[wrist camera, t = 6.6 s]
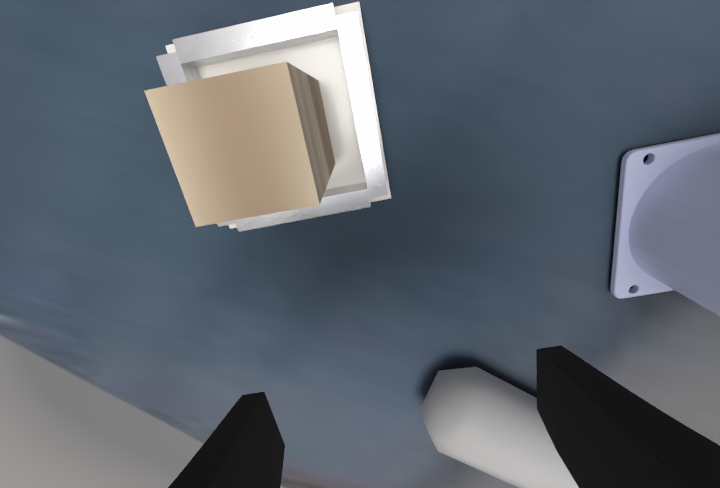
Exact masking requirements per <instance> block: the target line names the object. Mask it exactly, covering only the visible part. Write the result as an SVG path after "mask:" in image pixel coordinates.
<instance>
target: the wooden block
mask: <svg viewBox="0 0 720 488" xmlns="http://www.w3.org/2000/svg"><path fill="white" fill-rule="evenodd" d="M145 94H146V96H147V99H148V102H149V104H150V107H151V110H152V112H153V115H154V118H155V120H156V123H157V126H158V128H159V131H160V133H161V136H162V139H163V141H164V144H165V147H166V149H167V152H168V155H169V157H170V160H171V163H172V165H173V168H174V170H175V173H176V176H177V178H178V181H179V184H180V186H181V189H182V192H183V194H184V197H185V200H186V202H187V205H188V208H189V210H190V213H191V215H192V218H193V221H194V223H195V226H196V227H199V226H204V225H210V224H216V223H221V222H227V221H233V220H238V219H244V218H249V217H255V216H261V215H266V214H272V213H278V212H283V211H289V210H294V209H300V208H306V207H311V206H317V205H320V203H321V200H322V198H323V195H324V192H325V190H326V187H327V184H328V182H329V179H330V176H331V174H332V171H333V169H334V166H335V159H334V155H333V150H332V145H331V140H330V135H329V130H328V125H327V120H326V115H325V111H324V106H323V101H322V96H321V91H320V86H319V81H318V80H317V79H315V78H313V77H312V76H310V75H308V74H307V73H305V72H303V71H302V70H300V69H298V68H297V67H295V66H293V65H292V64H290V63H288V62H282V63H277V64H272V65H267V66H263V67H258V68H253V69H248V70H243V71H238V72H233V73H228V74H223V75H219V76H214V77H209V78H204V79H199V80H194V81H189V82H184V83H180V84H175V85H170V86H165V87H160V88H155V89H150V90H145Z"/></svg>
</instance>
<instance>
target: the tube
mask: <svg viewBox="0 0 720 488" xmlns="http://www.w3.org/2000/svg"><path fill="white" fill-rule="evenodd" d="M420 412H421V415H422V417H423V420H424V422H425V425H426V427H427V430H428V432H429V435H430V437H431V439H432V440H433V442H434V444H435V446H436V448H437V450H438V451H439V452H441V453H443V454H445V455H448V456H450V457H452V458H454V459H456V460H459V461H461V462H463V463H465V464H468V465H470V466H472V467H474V468H476V469H479V470H481V471H483V472H485V473H487V474H490V475H492V476H494V477H496V478H499V479H501V480H503V481H505V482H507V483H510V484H512V485H514V486H516V487H519V488H579V487H578V485H577V484H576V482H575V480H574V479H573V477H572V475H571V474H570V472H569V470H568V469H567V467H566V466H565V464H564V462H563V461H562V459H561V457H560V455H559V454H558V452H557V450H556V448H555V446H554V444H553V442H552V440H551V438H550V436H549V434H548V432H547V430H546V428H545V425H544V423H543V421H542V419H541V417H540V415H539V412H538V410H537V398H536V397H534V396H532V395H530V394H528V393H526V392H524V391H522V390H520V389H518V388H516V387H514V386H513V385H511V384H509V383H507V382H505V381H503V380H501V379H499V378H497V377H495V376H493V375H491V374H489V373H487V372H486V371H484V370H482V369H480V368H478V367H469V368H459V369H449V370H439V371H438V372H437V375H436V377H435V379H434V381H433V383H432V385H431V387H430V389H429V391H428V393H427V395H426V398H425V400H424V402H423V404H422V407H421V409H420Z"/></svg>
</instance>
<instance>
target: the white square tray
mask: <svg viewBox="0 0 720 488" xmlns="http://www.w3.org/2000/svg"><path fill="white" fill-rule="evenodd" d="M338 36H339V39H340V45H341V50H342V55H343V60H344V66H345V71H346V76H347V82H348V87H349V92H350V98H351V103H352V108H353V114H354V119H355V124H356V130H357V135H358V140H359V146H360V151H361V156H362V162H363V167H364V172H365V178H366V182H363V183H357V184H352V185H347V186H342V187H337V188H332V189H326V190H325V192H324V195H323V198H322V200H321V203H320V205H317V206H311V207H306V208H300V209H294V210H289V211H283V212H278V213H272V214H266V215H261V216H255V217H249V218H244V219H238V220H233V221H227V222H221V223H217V224H218V227H220V226H225V225H230V224H235V223H236V226H237V229H238V232H240V231H245V230H251V229H256V228H261V227H267V226H272V225H277V224H283V223H288V222H293V221H299V220H304V219H309V218H314V217H320V216H325V215H330V214H336V213H341V212H346V211H352V210H357V209H362V208H368V207H371V203H370V198H372V197H377V196H383V195H388V193H387V187H386V181H385V175H384V169H383V163H382V157H381V151H380V145H379V139H378V133H377V127H376V121H375V115H374V109H373V103H372V98H371V92H370V86H369V80H368V74H367V68H366V62H365V56H364V50H363V44H362V38H361V32H360V26H359V20H358V14H357V11H355V12H350V13H346V14H341V15H337V16H336V15H335V10H334V6H333V3H330V4H326V5H321V6H317V7H312V8H308V9H304V10H299V11H295V12H291V13H286V14H282V15H278V16H273V17H269V18H265V19H260V20H256V21H251V22H247V23H243V24H238V25H234V26H230V27H225V28H221V29H217V30H212V31H208V32H203V33H199V34H195V35H190V36H186V37H182V38H177V39H173V40H172V41H173V43H174V46H175V49H176V52H174V53H169V54H165V55H160V56H156V58H157V61H158V63H159V66H160V69H161V72H162V74H163V77H164V80H165V82H166V85H167V86H170V85H175V84H180V83H184V82H189V81H194V80H199V79H201V76H200V73H199V70H198V67H203V66H207V65H212V64H216V63H221V62H225V61H230V60H234V59H239V58H243V57H248V56H252V55H257V54H261V53H266V52H270V51H275V50H279V49H284V48H288V47H293V46H297V45H302V44H306V43H311V42H315V41H320V40H324V39H329V38H333V37H338Z"/></svg>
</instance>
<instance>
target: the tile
mask: <svg viewBox="0 0 720 488" xmlns="http://www.w3.org/2000/svg"><path fill="white" fill-rule="evenodd" d="M334 10H335V15H336V16H337V15H341V14H346V13H350V12H355V11H357V14H358V20H359V26H360V32H361V38H362V44H363V50H364V56H365V62H366V68H367V74H368V80H369V86H370V92H371V98H372V103H373V109H374V115H375V121H376V127H377V133H378V139H379V145H380V151H381V157H382V163H383V169H384V175H385V181H386V187H387V193H388V195H383V196H377V197H372V198H370V202H374V201H380V200H385V199H390V198H391V193H390V187H389V181H388V175H387V168H386V162H385V156H384V150H383V144H382V138H381V132H380V126H379V120H378V113H377V107H376V101H375V95H374V89H373V83H372V77H371V71H370V65H369V58H368V52H367V46H366V40H365V34H364V28H363V22H362V16H361V9H360V3H359V2H355V3H351V4H346V5H342V6H337V7H334ZM166 49H167V52H168V54H169V53H174V52H176V49H175V46H174V44H171V45H167V46H166ZM282 62H288V63H290V64H292V65H293V66H295V67H297V68H298V69H300V70H302V71H303V72H305V73H307V74H308V75H310V76H312V77H313V78H315V79H317V80H318V81H319V86H320V91H321V96H322V101H323V106H324V111H325V115H326V120H327V125H328V130H329V135H330V140H331V145H332V150H333V155H334V159H335V166H334V169H333V171H332V174H331V176H330V179H329V182H328V184H327V187H326V189H332V188H337V187H342V186H347V185H352V184H357V183H363V182H366V178H365V172H364V167H363V162H362V156H361V151H360V146H359V140H358V135H357V130H356V124H355V119H354V114H353V108H352V103H351V98H350V92H349V87H348V82H347V76H346V71H345V66H344V60H343V55H342V50H341V45H340V39H339V36H338V37H333V38H329V39H324V40H320V41H315V42H311V43H306V44H302V45H297V46H293V47H288V48H284V49H279V50H275V51H270V52H266V53H261V54H257V55H252V56H248V57H243V58H239V59H234V60H230V61H225V62H221V63H216V64H212V65H207V66H203V67H198V70H199V73H200V76H201V79H204V78H209V77H214V76H219V75H223V74H228V73H233V72H238V71H243V70H248V69H253V68H258V67H263V66H267V65H272V64H277V63H282ZM229 227H230V229H232V228H237V226H236V223H235V224H230V225H229Z"/></svg>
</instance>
